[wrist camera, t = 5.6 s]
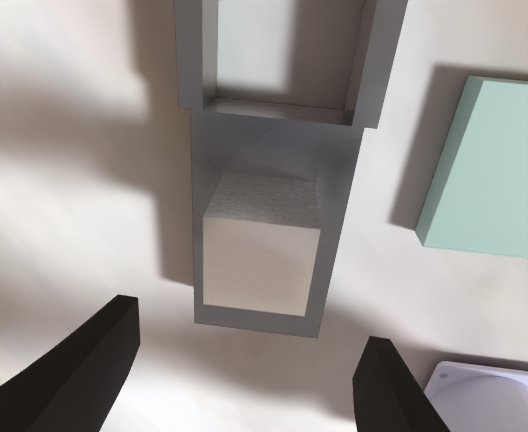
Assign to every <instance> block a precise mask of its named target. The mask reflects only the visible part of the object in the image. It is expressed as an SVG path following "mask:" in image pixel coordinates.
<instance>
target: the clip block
mask: <svg viewBox="0 0 528 432" xmlns="http://www.w3.org/2000/svg"><path fill="white" fill-rule="evenodd" d="M320 231H321V227H320V217H319V208H318V198H317V189H316V182H314V181H305V180H296V179H286V178H277V177H268V176H259V175H250V174H240V173H231V172H224V174H223V176H222V178H221V180H220V182H219V184H218V186H217V188H216V190H215V192H214V195H213V197H212V199H211V201H210V203H209V205H208V207H207V209H206V211H205V213H204V215H203V304H207V305H215V306H223V307H232V308H240V309H248V310H256V311H264V312H273V313H281V314H289V315H297V316H305V311H306V306H307V300H308V295H309V290H310V284H311V279H312V274H313V268H314V263H315V258H316V252H317V247H318V242H319V236H320Z"/></svg>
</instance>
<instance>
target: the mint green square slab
mask: <svg viewBox="0 0 528 432" xmlns="http://www.w3.org/2000/svg"><path fill="white" fill-rule="evenodd" d="M415 233H416V235H417V237H418V238H419V240H420V242H421V244H422V246H423V247H430V248H438V249H447V250H456V251H465V252H473V253H482V254H491V255H499V256H508V257H517V258H526V259H528V81H522V80H511V79H501V78H491V77H481V76H471V75H468V77H467V80H466V83H465V86H464V89H463V92H462V95H461V98H460V101H459V104H458V106H457V109H456V112H455V115H454V118H453V121H452V124H451V127H450V130H449V133H448V136H447V138H446V141H445V144H444V147H443V150H442V153H441V156H440V159H439V162H438V165H437V168H436V171H435V173H434V176H433V179H432V182H431V185H430V188H429V191H428V194H427V197H426V200H425V203H424V205H423V208H422V211H421V214H420V217H419V220H418V223H417V226H416V229H415Z"/></svg>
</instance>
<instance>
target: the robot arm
mask: <svg viewBox="0 0 528 432" xmlns="http://www.w3.org/2000/svg"><path fill="white" fill-rule="evenodd" d="M139 346H140V327H139V307H138V298H137V297H131V296H125V295H117V296H116V297H114V298H113V299H112V300H111V301H110V302H108V303H107V304H106V305H105V306H104V307H103V308H101V309H100V310H99V311H98V312H97V313H96V314H94V315H93V316H92V317H91V318H90V319H89V320H87V321H86V322H85V323H84V324H83V325H81V326H80V327H79V328H78V329H76V330H75V331H74V332H73V333H71V334H70V335H69V336H68V337H66V338H65V339H64V340H63V341H61V342H60V343H59V344H58V345H56V346H55V347H54V348H53V349H51V350H50V351H49V352H47V353H46V354H45V355H43V356H42V357H40V358H39V359H38V360H36V361H35V362H34V363H32V364H31V365H30V366H28V367H27V368H26V369H24V370H23V371H21V372H20V373H19V374H17V375H16V376H14V377H13V378H11V379H10V380H8V381H7V382H6V383H4V384H3V385H1V386H0V432H99V431H100V429H101V427H102V425H103V423H104V421H105V419H106V417H107V415H108V413H109V411H110V410H111V408H112V406H113V404H114V402H115V400H116V398H117V396H118V394H119V392H120V390H121V388H122V386H123V384H124V382H125V380H126V379H127V377H128V374H129V372H130V369H131V367H132V364H133V362H134V359H135V356H136V354H137V351H138V348H139ZM352 380H353V400H354V414H355V420H356V426H357V432H528V371H521V370H513V369H505V368H497V367H489V366H481V365H473V364H465V363H457V362H449V361H442V362H440V363H438V364H437V366H436V368H435V370H434V372H433V374H432V376H431V378H430V380H429V382H428V384H427V386H426V388H425V390H424V392H423V391H422V389H421V388H420V386H419V384H418V383H417V381H416V380H415V378H414V377H413V375H412V374H411V372H410V370H409V369H408V367H407V366H406V364H405V363H404V361H403V359H402V358H401V356H400V355H399V353H398V351H397V350H396V348H395V347H394V345H393V343H392V342H391V341H390V339H385V338H379V337H373V336H370V337H369V339H368V342H367V344H366V347H365V349H364V352H363V354H362V356H361V359H360V361H359V364H358V366H357V369H356V371H355V374H354V376H353V378H352Z"/></svg>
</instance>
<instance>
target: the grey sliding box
mask: <svg viewBox="0 0 528 432" xmlns="http://www.w3.org/2000/svg"><path fill="white" fill-rule="evenodd" d="M407 3H408V0H365V2H364V7H363V12H362V18H361V23H360V28H359V33H358V39H357V44H356V49H355V55H354V60H353V65H352V70H351V76H350V81H349V86H348V91H347V97H346V102H345V107H344V110H338V109H328V108H318V107H308V106H299V105H289V104H279V103H269V102H260V101H250V100H240V99H230V98H221V97H217V39H218V0H174V5H175V32H176V60H177V87H178V108H182V109H190V111H191V162H192V213H193V264H194V315H195V323H198V324H206V325H214V326H222V327H230V328H238V329H246V330H254V331H262V332H270V333H278V334H286V335H294V336H303V337H311V338H318V333H319V329H320V324H321V320H322V315H323V311H324V306H325V302H326V297H327V293H328V288H329V284H330V279H331V275H332V270H333V266H334V262H335V257H336V253H337V248H338V244H339V239H340V235H341V230H342V226H343V221H344V217H345V212H346V208H347V203H348V199H349V194H350V190H351V185H352V181H353V176H354V172H355V167H356V163H357V158H358V154H359V149H360V145H361V141H362V136H363V132H364V127H365V128H374V129H377V127H378V123H379V119H380V115H381V110H382V106H383V102H384V98H385V94H386V90H387V85H388V81H389V77H390V73H391V69H392V65H393V61H394V56H395V52H396V48H397V44H398V40H399V36H400V32H401V27H402V23H403V19H404V15H405V11H406V7H407ZM224 172H231V173H240V174H250V175H259V176H268V177H277V178H286V179H296V180H305V181H314V182H316V189H317V198H318V208H319V217H320V227H321V231H320V236H319V242H318V247H317V252H316V258H315V263H314V268H313V274H312V279H311V284H310V290H309V295H308V300H307V306H306V311H305V316H297V315H289V314H281V313H273V312H264V311H256V310H248V309H240V308H232V307H223V306H215V305H207V304H203V215H204V213H205V211H206V209H207V207H208V205H209V203H210V201H211V199H212V197H213V195H214V192H215V190H216V188H217V186H218V184H219V182H220V180H221V178H222V176H223V174H224Z"/></svg>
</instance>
